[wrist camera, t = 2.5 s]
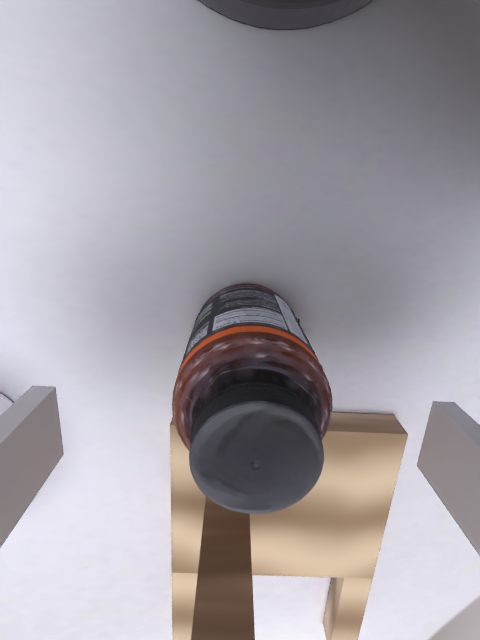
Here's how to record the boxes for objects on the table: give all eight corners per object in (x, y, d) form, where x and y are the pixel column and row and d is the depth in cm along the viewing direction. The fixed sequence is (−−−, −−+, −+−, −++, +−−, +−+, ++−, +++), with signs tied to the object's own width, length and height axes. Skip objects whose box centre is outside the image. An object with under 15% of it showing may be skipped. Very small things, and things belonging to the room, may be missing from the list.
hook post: (207, 477, 22) (176, 777, 11) (311, 481, 22) (390, 780, 11) (206, 509, 23) (176, 819, 11) (306, 512, 23) (376, 821, 12)
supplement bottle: (281, 384, 22) (323, 557, 11) (187, 364, 22) (138, 527, 11) (308, 293, 20) (389, 398, 10) (205, 270, 20) (170, 354, 9)
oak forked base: (175, 405, 23) (170, 424, 21) (393, 414, 23) (407, 434, 21) (176, 618, 29) (172, 647, 27) (346, 622, 29) (354, 652, 28)
